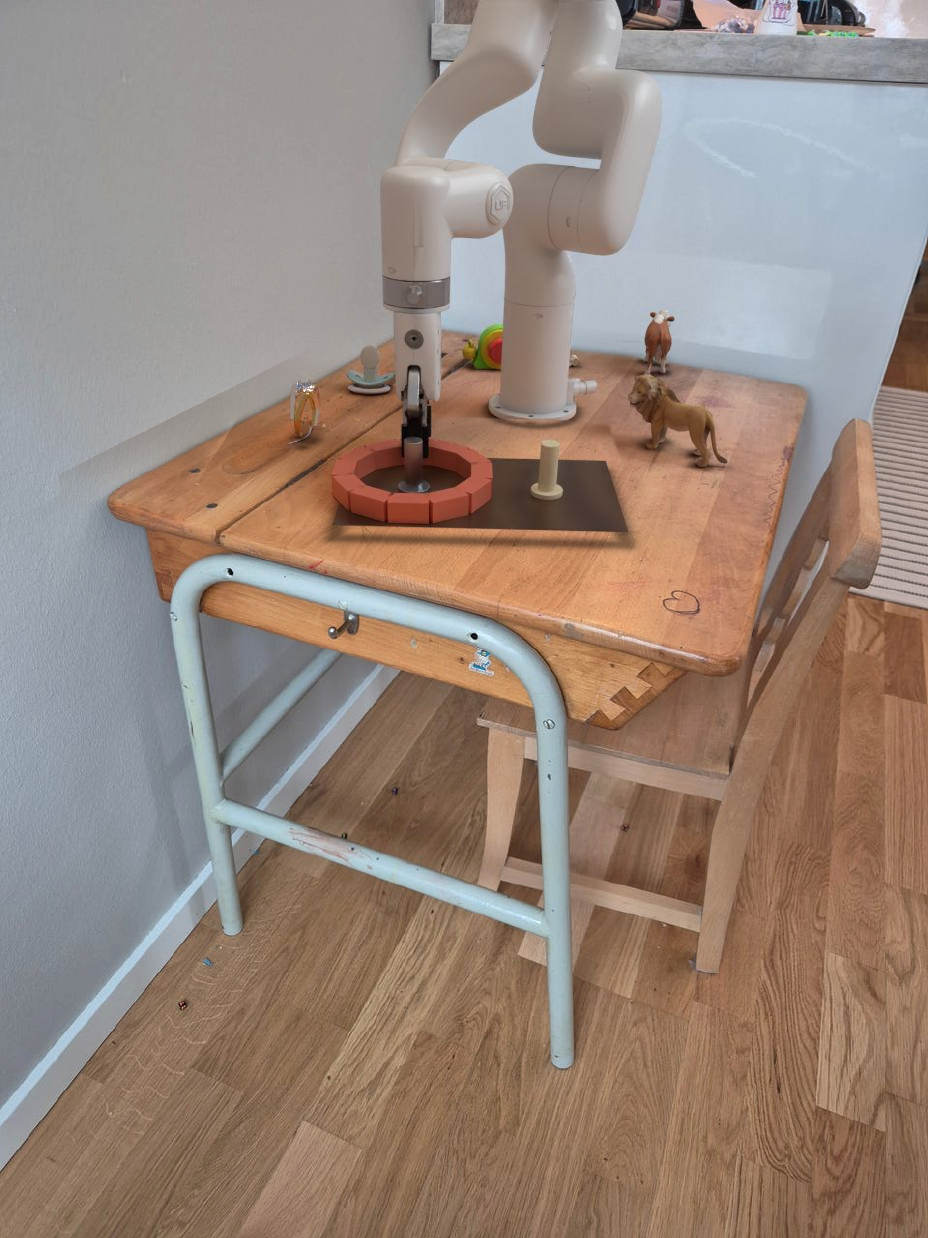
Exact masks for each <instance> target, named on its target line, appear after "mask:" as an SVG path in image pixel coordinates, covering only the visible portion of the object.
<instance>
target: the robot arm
mask: <svg viewBox="0 0 928 1238" xmlns="http://www.w3.org/2000/svg"><path fill="white" fill-rule="evenodd" d="M623 26H624V24H623V19H622V15H621V11H620V8H619V6H618V3H617V1H616V0H478V3H477V6H476V9H475V14H474V17H473V19H472V23H471V26H470V30H469V33H468V36H467V38H466V39H467V40H466V44H465V46H464V48H463V50H462V52H461V53H460V54H459V55H458V56H457V57H456V58H455V60H453V61H452V63H450V64H449V65H448V66H447V67H446V68H445V69H444V70H443V71H442V73H440V74H439V76H438V77H437V78H436V80H434V81H433V83H432V84H431V85H430V86H429V88H428V89H427V90H426V91H425V93H424V94H422V96H421V97H420V99H419V100H418V101H417V103H416V104H415V105H414V107H413V108H412V111H411V112H410V114H409V115H408V116H409V117H407V120H406V122H405V125H404V127H403V131H402V134H401V136H400V140H399V143H398V147H397V150H396V153H395V157H394V162H393V165H392V166H391V167H390V168H387V169H386V170H385V171H384V172H383V173H382V175H381V177H380V181H379V182H380V184H379V187H380V188H379V192H380V193H379V199H380V200H379V201H380V241H381V245H380V246H381V285H382V291H381V292H382V307H383V308H384V309H385V310H388V311H390V312H392V313H393V314H392V315H393V317H392V318H393V357H394V359H393V360H394V372H395V375H394V377H395V378H394V379H395V391H396V399H398V401H400V402H402V423H401V424H400V434H401V435H400V439H401V449H402V457H403V458H405V457H404V440H405V439H406V438H408V437H418V438H421V439H422V445H423V458H424V459H425V458H428V456H429V439H431V437H432V405H431V404H430V403H431V401H432V402H433V403H437V402H438V401H439V400H440V398H441V388H442V353H443V352H442V348H443V347H442V342H443V341H442V339H443V335H442V334H443V333H442V332H443V331H442V329H443V328H442V312H445V311H447V310H449V309H450V308H451V273H452V272H451V271H452V266H451V265H452V240H453V239H459V238H460V239H474V240H475V239H478V240H479V239H480V240H481V239H485V238H488V237H491V236H494V235H495V234H497V233H498V232H499V231H502V238H503V245H504V246H503V248H504V293H503V294H504V297H503V315H502V316H503V317H502V324H503V336H502V359H501V369H500V383H499V389H500V390H499V392H498V393H496V394H494V395H493V396H491V397H490V399H489V401H488V411H489V412H490V413H491V414H492V415H493V416H494V417H496V418H498V419H502V420H503V419H505V420H506V419H509V420H543V421H544V420H546V421H547V420H548V421H569V420H571V419H572V418H573V417H575V415H576V414H577V403H576V401H575V400H574V399H577V398H578V397H579V396H583V395H584V396H587V395H595V394H596V393H597V392H598V383H597V381H596V380H595V379H592V380H591V379H590V380H584V381H581V379H580V378H579V377H575V378H573V377H572V378H570V377H569V373H570V372H569V371H570V366H569V361H570V356H571V347H572V336H573V324H574V314H575V301H576V291H577V283H576V281H577V280H576V275H575V271H574V268H573V265H572V262H571V260H570V258H569V255H568V253H567V252H571V253H572V252H573V253H579V254H584V255H585V254H586V255H592V256H602V257H603V256H605V257H606V256H611V255H615V254H617V253H618V252H620V251H621V250H622V249H623V248H624V246H625V245H626V244H627V242H628V241H629V239H630V237H631V235H632V232H633V230H634V227H635V224H636V220H637V217H638V214H639V211H640V207H641V203H642V200H643V196H644V192H645V188H646V185H647V181H648V177H649V175H650V170H651V167H652V163H653V160H654V155H655V152H656V148H657V145H658V139H659V136H660V131H661V125H662V115H663V105H662V94H661V91H660V87H659V86H658V84H657V82H656V80H655V79H654V78H653V77H652V76H651V75H650V74H648V73H646V72H644V71H641V70H636V69H629V68H627V69H626V68H616V67H617V62H618V59H619V58H618V57H619V53H620V49H621V44H622V40H623V33H624V32H623V31H624V27H623ZM546 52H547V53H546ZM545 56H546V57H545ZM544 59H545V62H544ZM543 63H544V66H543V71H542V74H541V79H540V83H539V87H538V92H537V94H536V95H537V96H536V100H535V105H534V109H533V115H532V126H531V127H532V136H533V140H534V142H535V144H536V145H537V146H538V147H539V148H540V149H541V150H542V151H544V152H546V153H549V154H551V155H554V156H555V155H556V156H561V157H567V158H577V159H578V158H579V159H587V160H589V159H590V160H600V165H599V168H592V167H582V166H581V167H580V166H575V165H566V164H553V163H531V164H526V165H524V166H521V167H519V168H517V169H515V170H514V171H513V172H512V173H511V174H510V175H509V176H508V178H507V176H506V174H504V172H502V170H500V169H499V168H497V167H495V166H493V165H490V164H488V163H483V162H476V161H466V160H465V161H464V160H459V159H450V158H445V157H446V155H447V152H448V151H449V149H450V147H451V145H452V144H453V142H454V141H455V140H456V138H457V137H458V136H459V134H460V133H461V132H462V131H463V130H465V128H467V126H469V125H470V124H471V123H473V122H474V121H476V120H477V119H478V118H480V117H482V116H483V115H485V114H487V113H489V112H491V111H493V110H496V109H497V108H499V107H501V106H503V105H505V104H507V103H509V102H511V101H513V100H515V99H516V98H518V97H520V96H522V95H524V94H526V93H527V92H529V90H530V89H532V88H533V87H534V85H535V84H536V83H537V80H538V78H539V75H540V72H541V69H542V65H543Z"/></svg>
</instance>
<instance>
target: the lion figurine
mask: <svg viewBox="0 0 928 1238" xmlns="http://www.w3.org/2000/svg"><path fill="white" fill-rule="evenodd" d="M674 391H675V390H673V389H672V388H671V387H670V386H668V385H667V384H666V383H665V382H664V381H663V380H661V379H659V378H658V377H657V376H653V375H652V374H650V375H649V374H645V373H643V374H641V375H637V376H635V377H634V383H633V385H632V390H631V392H630V393H628V394H627V400H628V401H629V406H630V407H631V408H634V409H635V410H636V411H637V412H638V413H639V414H640V415H641V416H642V420H643V421H645V422H646V423H649V424H650V435H651V439H652V440H651V441H649V442H647V443H646V448H647V449H648V450H649V449H652V450H653V449H656V448H657V447H658V446H659V444H660V443H664V442H665V440H666V437H667V432H668V429H670V430H673V431H675V432H679V433H683V432H688V434H689V437H690V440H691V442H692V444H693V445H694V447H695V449H694V450H693V454H694V455H696V456H701V459H698V460H697V461H696V466H698V467H699V468H704V467H707V466H708V464H709V461H710V456H709V455H710V454H709V453H710V452H709V449H708V443H707V442H708V438H709V435H710V442H711V448H712V451H713V454H714V456H715V458H716V460H717V461H718V462H719V463H720V464H728V460H727V459H726V458H725V457H723V456H722V455H720V452H718V448H717V440H716V439H717V438H716V428H715V421H714V417H713V414H712V413H711V411H710V410H709V409H708V408H706V407H705V406H700V405H691V404H687V403H685V402H682V401H680V399H679V398H678V397H677V395H676V393H675V392H674Z"/></svg>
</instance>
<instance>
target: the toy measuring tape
mask: <svg viewBox="0 0 928 1238" xmlns="http://www.w3.org/2000/svg"><path fill="white" fill-rule="evenodd" d="M502 336H503V323H495V324H491V325H490V326H488V327H486V328H485V329H484V330H483V331H482V332H481V334H480V335H479V338H478V341H477V347H476V346H475V343H474V341H473V339H469V340H468V341H467V344H465V345H464V346H463V347H462V350H461V354H462V356H463V358H464V359H466V360H469V361H471V360H472V364H473V365H472V366H473V367H474V369H475V370H476V369H477V370H485V369H486V370H488V369H489V370H492V369H493V370H501V359H502ZM579 363H580V359H579V358H578V356H577V355H576V354H570V361H569V367H571V366H573V367H576V366H578V365H579Z"/></svg>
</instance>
